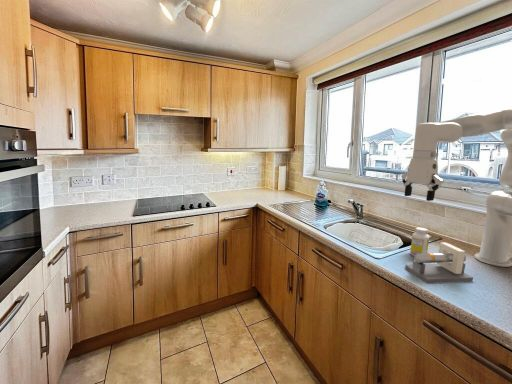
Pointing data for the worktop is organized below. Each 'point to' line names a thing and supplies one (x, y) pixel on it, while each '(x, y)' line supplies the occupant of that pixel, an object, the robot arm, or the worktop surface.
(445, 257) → the pipe
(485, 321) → the worktop surface
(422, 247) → the supplement bottle
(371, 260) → the worktop surface
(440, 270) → the base board
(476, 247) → the worktop surface
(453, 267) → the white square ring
